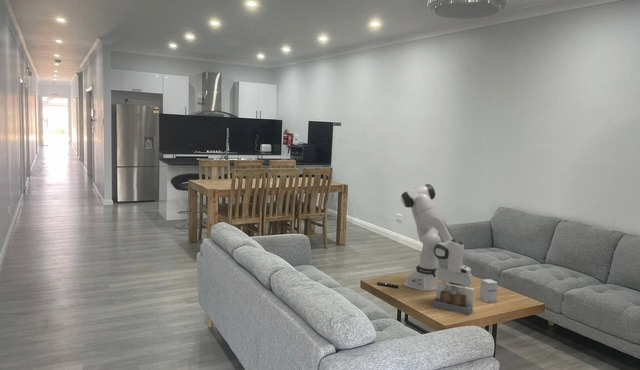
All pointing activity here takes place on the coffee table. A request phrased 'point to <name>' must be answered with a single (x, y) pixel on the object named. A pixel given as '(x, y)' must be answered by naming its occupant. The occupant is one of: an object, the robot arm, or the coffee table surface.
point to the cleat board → (465, 310)
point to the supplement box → (488, 290)
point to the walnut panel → (453, 297)
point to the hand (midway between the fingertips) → (453, 290)
